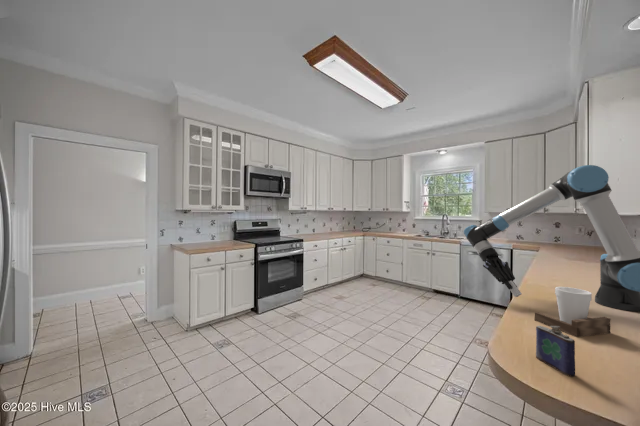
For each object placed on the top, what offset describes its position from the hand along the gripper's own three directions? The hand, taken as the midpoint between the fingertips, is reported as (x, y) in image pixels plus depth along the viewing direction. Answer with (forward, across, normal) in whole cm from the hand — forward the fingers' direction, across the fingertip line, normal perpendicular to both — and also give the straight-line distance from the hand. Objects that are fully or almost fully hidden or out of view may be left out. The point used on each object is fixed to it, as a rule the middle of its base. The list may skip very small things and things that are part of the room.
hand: (518, 295), depth 111 cm
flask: (+30, +33, +23) cm, 50 cm away
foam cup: (+17, -1, +10) cm, 20 cm away
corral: (+17, 0, +10) cm, 19 cm away
